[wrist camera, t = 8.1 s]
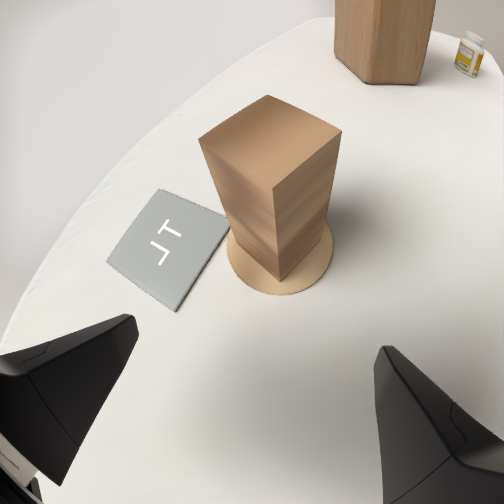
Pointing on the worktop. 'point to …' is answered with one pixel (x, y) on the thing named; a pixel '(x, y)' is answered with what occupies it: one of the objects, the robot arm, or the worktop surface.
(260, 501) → the worktop surface
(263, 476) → the worktop surface
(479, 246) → the worktop surface
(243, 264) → the cork coaster
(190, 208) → the tile
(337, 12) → the block
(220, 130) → the walnut block
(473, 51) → the supplement bottle
